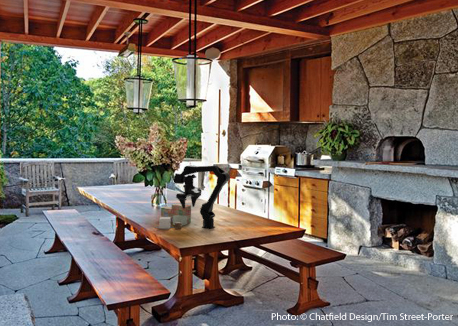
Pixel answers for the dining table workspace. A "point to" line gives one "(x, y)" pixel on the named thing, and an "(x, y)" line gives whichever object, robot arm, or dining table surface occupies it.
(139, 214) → the dining table surface
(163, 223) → the white cover
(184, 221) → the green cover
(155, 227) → the slate pad
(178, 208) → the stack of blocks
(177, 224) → the letter cube
